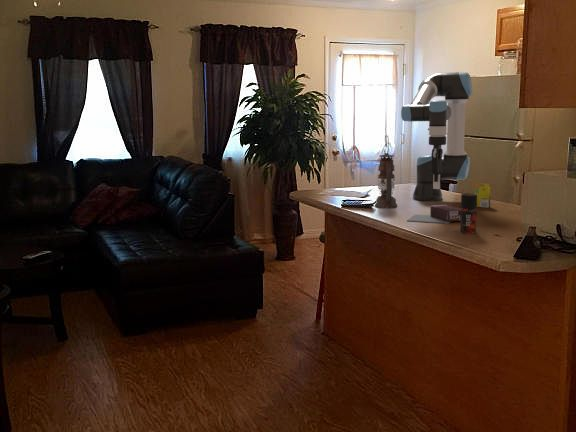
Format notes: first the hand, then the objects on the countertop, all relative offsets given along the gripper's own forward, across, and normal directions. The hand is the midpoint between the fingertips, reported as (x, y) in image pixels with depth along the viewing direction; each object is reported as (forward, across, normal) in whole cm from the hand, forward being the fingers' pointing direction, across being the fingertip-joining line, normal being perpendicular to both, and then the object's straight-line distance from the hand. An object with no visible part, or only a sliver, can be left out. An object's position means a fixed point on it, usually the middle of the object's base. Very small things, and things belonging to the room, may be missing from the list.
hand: (436, 188), depth 280 cm
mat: (+12, +10, 0) cm, 16 cm away
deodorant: (+12, +31, +19) cm, 38 cm away
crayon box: (+13, -30, +16) cm, 36 cm away
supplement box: (+10, +1, +1) cm, 10 cm away
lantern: (+13, -17, -28) cm, 35 cm away
